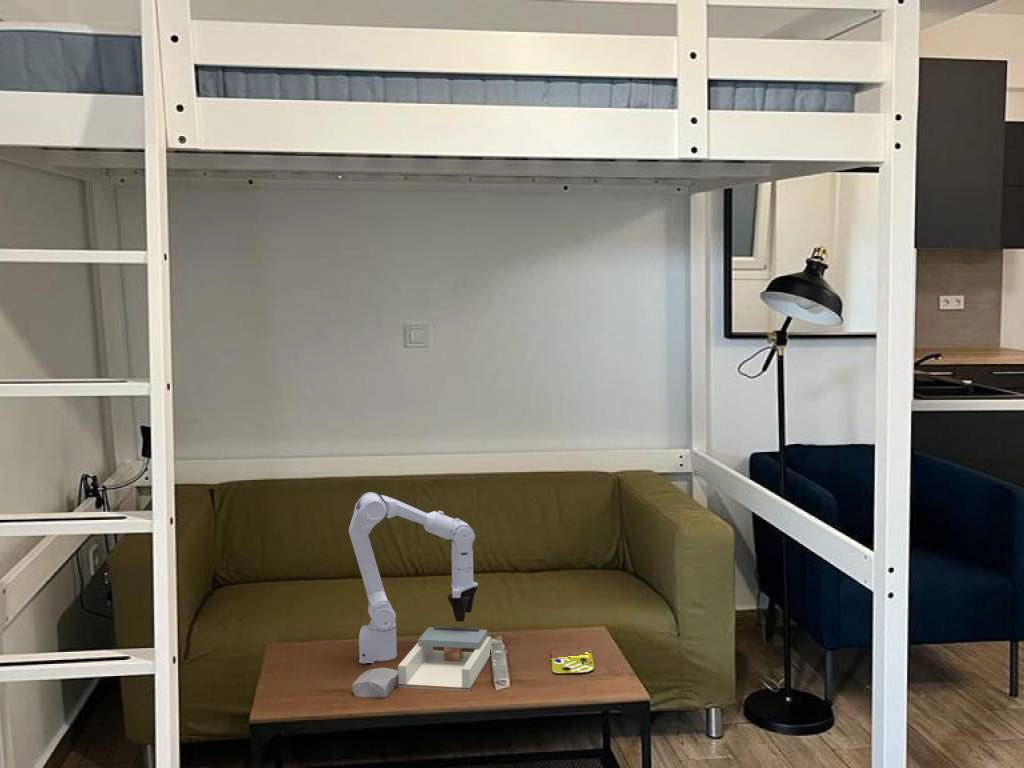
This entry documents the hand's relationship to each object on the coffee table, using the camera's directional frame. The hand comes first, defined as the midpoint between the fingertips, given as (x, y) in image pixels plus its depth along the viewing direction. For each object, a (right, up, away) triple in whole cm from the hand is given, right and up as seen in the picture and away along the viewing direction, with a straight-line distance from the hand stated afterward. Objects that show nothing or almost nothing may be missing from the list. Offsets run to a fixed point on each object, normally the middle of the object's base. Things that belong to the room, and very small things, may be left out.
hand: (463, 616), depth 271 cm
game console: (+29, -10, -9) cm, 32 cm away
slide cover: (-2, -4, -8) cm, 9 cm away
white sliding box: (-4, -11, -14) cm, 18 cm away
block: (-2, -9, -8) cm, 12 cm away
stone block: (-20, -12, -24) cm, 34 cm away
